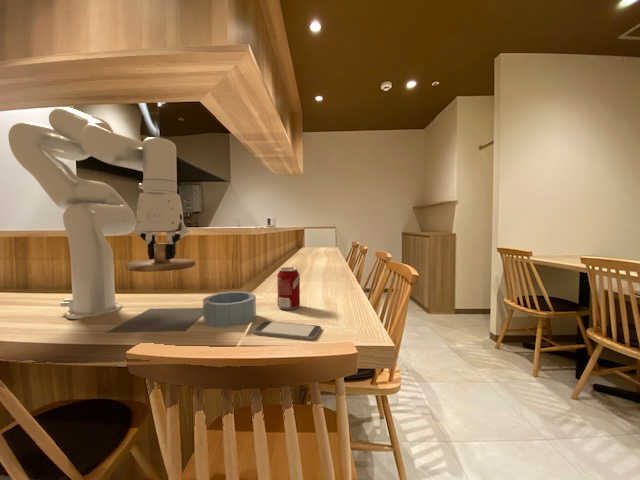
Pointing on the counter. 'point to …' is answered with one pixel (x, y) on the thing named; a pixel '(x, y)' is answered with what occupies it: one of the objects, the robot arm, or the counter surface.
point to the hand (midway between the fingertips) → (162, 258)
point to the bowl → (229, 309)
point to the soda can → (288, 288)
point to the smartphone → (288, 330)
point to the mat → (161, 320)
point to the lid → (159, 262)
